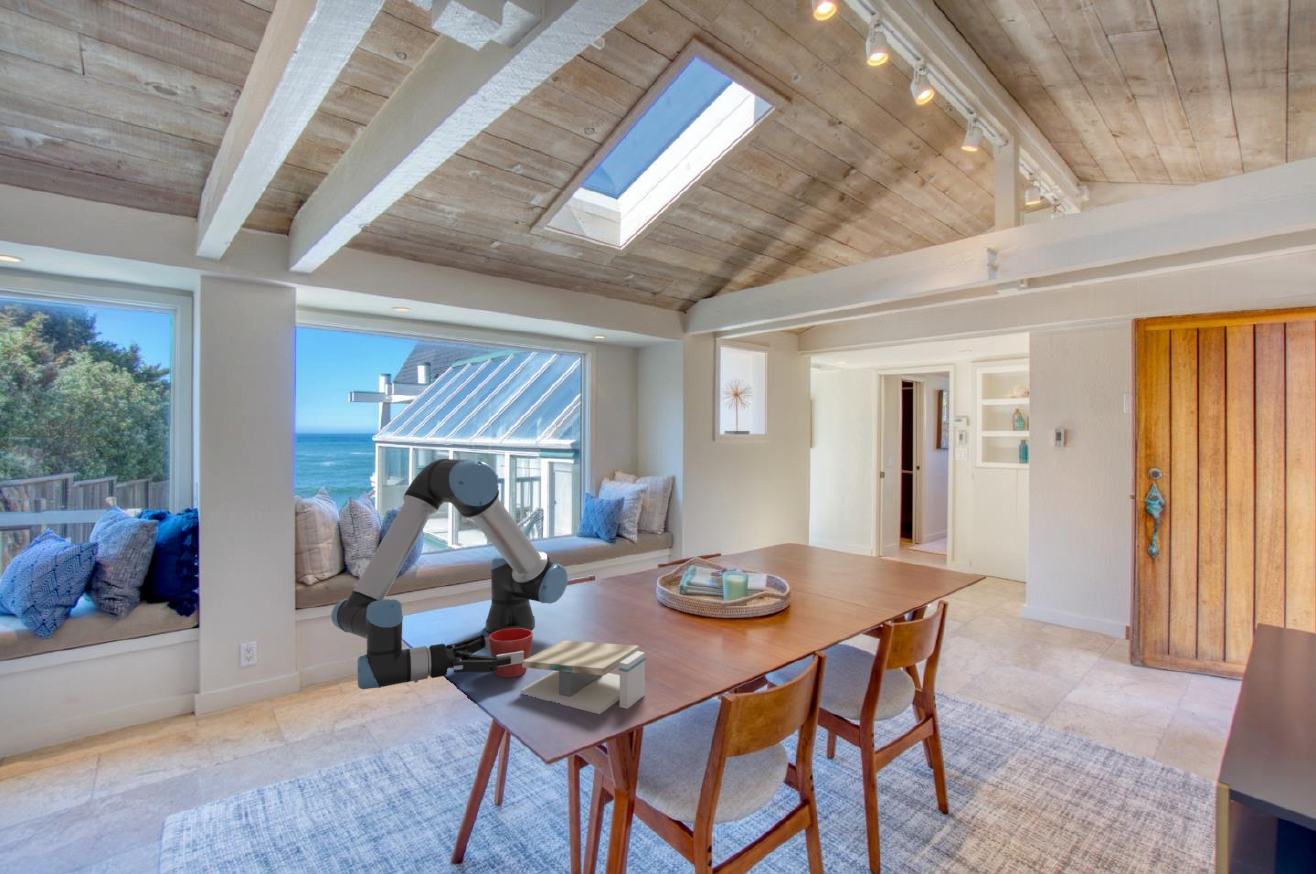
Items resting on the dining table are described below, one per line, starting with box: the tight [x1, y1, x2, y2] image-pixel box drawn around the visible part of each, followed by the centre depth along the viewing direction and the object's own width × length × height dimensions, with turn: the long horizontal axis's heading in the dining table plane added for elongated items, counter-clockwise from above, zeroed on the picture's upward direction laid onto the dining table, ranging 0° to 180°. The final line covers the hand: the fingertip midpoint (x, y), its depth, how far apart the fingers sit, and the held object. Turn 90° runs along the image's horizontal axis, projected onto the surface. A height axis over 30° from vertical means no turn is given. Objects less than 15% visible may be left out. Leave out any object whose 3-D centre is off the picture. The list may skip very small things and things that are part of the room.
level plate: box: [522, 639, 641, 675], centre depth 143 cm, size 23×16×2 cm
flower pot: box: [488, 628, 534, 678], centre depth 153 cm, size 11×11×10 cm
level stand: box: [520, 650, 646, 715], centre depth 142 cm, size 26×18×10 cm
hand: (516, 647), depth 153 cm, fingers open, 13 cm apart
